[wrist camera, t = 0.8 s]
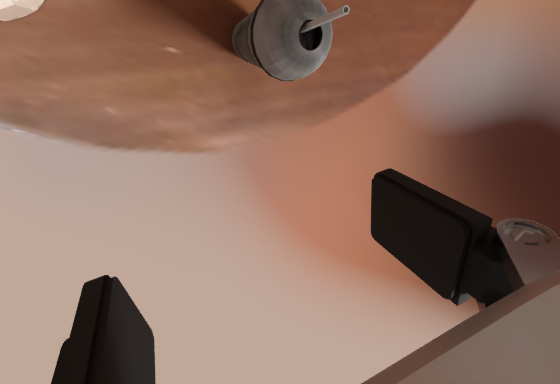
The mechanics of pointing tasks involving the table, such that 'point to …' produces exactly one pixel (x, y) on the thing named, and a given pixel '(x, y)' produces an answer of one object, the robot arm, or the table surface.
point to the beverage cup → (286, 37)
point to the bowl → (18, 8)
